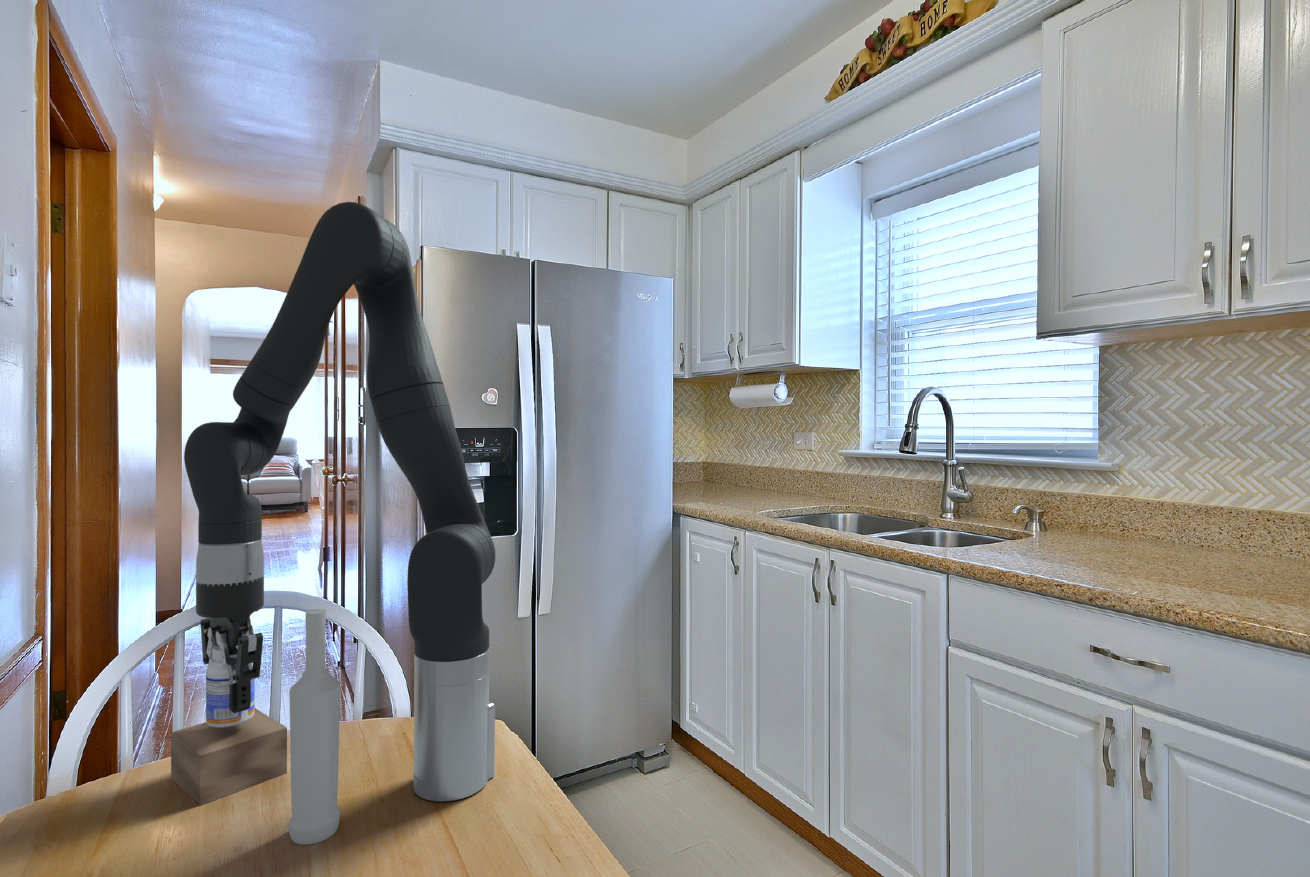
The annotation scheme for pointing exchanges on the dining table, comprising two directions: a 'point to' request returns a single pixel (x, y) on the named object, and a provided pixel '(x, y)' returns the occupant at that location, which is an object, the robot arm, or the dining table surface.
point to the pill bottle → (223, 695)
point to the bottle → (314, 742)
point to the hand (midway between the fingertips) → (230, 704)
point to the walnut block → (227, 756)
